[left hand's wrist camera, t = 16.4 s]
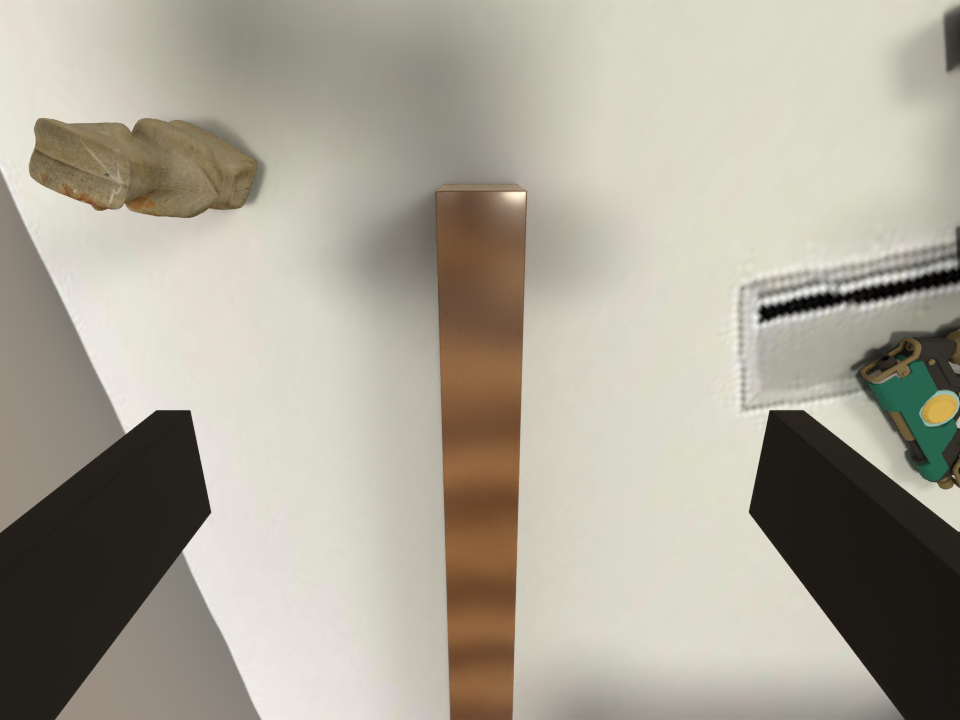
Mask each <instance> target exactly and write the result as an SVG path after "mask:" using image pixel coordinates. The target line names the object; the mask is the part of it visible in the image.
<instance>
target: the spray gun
mask: <svg viewBox="0 0 960 720" xmlns="http://www.w3.org/2000/svg"><path fill="white" fill-rule="evenodd" d="M907 342H910V343H911V344H908V345H907V350H908V352H909V354H907V355H897V356H896V357H895V358H894V355H896V354H898V353H900V352H901V351H903V350H904V348H905V346H906V343H907ZM948 360H949V361H950V362H951V363H954V364H958V365H960V329H958V330H957V331H953V332H951V333H950V334H949V335H948V336H947V337H946V338H914V337H913V338H904V339H902V340H901V342H900V345H899V347H898V348H896V349H894V350H893V351H891V352H889V353H888V354H886V355H883V356H881V357H880V358H879V359H877V360H876V361H874V362H872V363H870V364H869V365H867V366H865V367H864V368H863V369H861V374H862V376H863V378H865V379H866V380H867V383H868V385H869V387H870V389H871V390H872V392H873V394H874V395H875V397H876V399H877V401H878V402H879V404H880V406H881V407H882V409H884V410H886V411H888V412H889V413H890V415H891V417H892V419H893V420H894V422H895V424H896V425H897V427H898V429H899V431H900V432H901V434H902V436H903V437H904V439H905V440H907V441H909V442H910V444H911V446H912V448H913V449H914V451H915V454H914V455H913V457H911V458H912V461H913V463H914V464H915V466H916V468H917V470H918V471H919V473H920V475H921V476H922V477H923V478H924V479H926V480H928V481H930V482H937V483H938V485H939V487H940V488H942V489H950V488H952V487H953V485H954V484H955V485H956V486H958V487H959V488H960V428H957V426H956V424H955V421H956V420H957V419H958V418H959V417H960V374H956V373H954V371H953V369H952V368H951V366H950V364H949V362H948ZM877 365H878V366H879V368H880V369H878V370H876V371H875V372H873V373H871V374H870V375H869V376H868V375H867V374H866V372H868V371H869V370H871V369H872V368H874V367H876V366H877ZM952 475H954V476H955V478H956V479H955V478H953V477H952ZM953 483H954V484H953Z"/></svg>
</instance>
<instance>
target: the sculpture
mask: <svg viewBox="0 0 960 720" xmlns="http://www.w3.org/2000/svg"><path fill="white" fill-rule="evenodd" d="M34 132H35V137H36V144H35V148H34V151H33V153H32V156H31V159H30V163H29V172H30V175H31V177H32V178H33V179H34V180H35V181H37V182H38V183H40V184H41V185H43V186H45V187H47V188H49V189H51V190H54V191H56V192H58V193H60V194H63V195H66V196H68V197H71V198H73V199H76V200H78V201H81V202H84V203H87V204H91V206H92V207H93V208H94V209H95V210H97V211H103V210H106V209H119V208H121V207H122V206H123V205H124V203H125V204H126V206H127V208H128V209H129V210H131V211H133V212H138V213H142V214H148V215H153V216H168V217H181V218H190V217H194V216H197V215H199V214H201V213H203V212H204V211H206V210H207V209H208V208H211V209H221V210H227V209H237V208H241V207H242V206H243V205H244V203H245V201H246V199H247V197H248V194H249V191H250V187H251V184H252V180H253V176H254V175H255V172H256V167H257V161H256V160H254V159H253V158H251V157H249V156H247V155H244V154H242V153H241V152H239V151H238V150H236V149H235V148H233V147H232V146H231V145H229V144H228V143H226V142H225V141H223V140H221V139H219V138H218V137H216V136H214V135H212V134H210V133H208V132H206V131H204V130H202V129H200V128H198V127H195V126H193V125H191V124H188V123H186V122H184V121H181V120H174V121H171V122H169V123H168V122H165V121H161V120H157V119H151V118H144V119H140V120H139V121H138V122H137V123H136V124H135V126H134V128H133V130H132V132H130V130H129V129H128V128H127V127H126V126H125V125H124V124H121V123H74V124H67V123H64V122H61V121H57V120H54V119H47V118H39V119H38V120H37V121H36V124H35V127H34Z"/></svg>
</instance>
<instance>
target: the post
mask: <svg viewBox="0 0 960 720" xmlns="http://www.w3.org/2000/svg"><path fill="white" fill-rule="evenodd" d="M435 196H436V231H437V266H438V301H439V337H440V372H441V407H442V442H443V477H444V513H445V548H446V583H447V618H448V654H449V689H450V720H512V714H513V678H514V642H515V605H516V569H517V533H518V496H519V460H520V424H521V387H522V351H523V315H524V279H525V242H526V206H527V191H526V190H524V189H523V188H522V187H520V186H519V185H518V184H445V185H443V186H442V187H440V188H439V189H438V190H437V191H436V192H435Z"/></svg>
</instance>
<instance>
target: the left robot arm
mask: <svg viewBox="0 0 960 720" xmlns="http://www.w3.org/2000/svg"><path fill="white" fill-rule="evenodd" d="M210 513H211V509H210V504H209V499H208V494H207V489H206V484H205V479H204V475H203V470H202V465H201V460H200V455H199V450H198V445H197V440H196V436H195V431H194V426H193V421H192V416H191V411H190V410H156V411H155V412H154V413H152V414H151V415H150V416H149V417H147V418H146V419H145V420H144V421H142V422H141V423H140V424H138V425H137V426H136V427H135V428H133V429H132V430H131V431H130V432H128V433H127V434H126V435H124V436H123V437H122V438H121V439H119V440H118V441H117V442H116V443H114V444H113V445H112V446H110V447H109V448H108V449H107V450H105V451H104V452H103V453H101V454H100V455H99V456H98V457H96V458H95V459H94V460H93V461H91V462H90V463H89V464H87V465H86V466H85V467H84V468H82V469H81V470H80V471H79V472H77V473H76V474H75V475H74V476H72V477H71V478H70V479H68V480H67V481H66V482H65V483H63V484H62V485H61V486H60V487H58V488H57V489H56V490H54V491H53V492H52V493H51V494H49V495H48V496H47V497H45V498H44V499H43V500H42V501H40V502H39V503H38V504H37V505H35V506H34V507H33V508H31V509H30V510H29V511H28V512H26V513H25V514H24V515H23V516H21V517H20V518H19V519H17V520H16V521H15V522H14V523H12V524H11V525H10V526H9V527H7V528H6V529H5V530H3V531H2V532H1V533H0V720H55V719H56V717H57V716H58V715H59V714H60V712H61V711H62V710H63V708H64V707H65V706H66V704H67V703H68V702H69V700H70V699H71V698H72V696H73V695H74V694H75V692H76V691H77V690H78V688H79V687H80V686H81V684H82V683H83V682H84V680H85V679H86V678H87V676H88V675H89V674H90V672H91V671H92V670H93V668H94V667H95V666H96V664H97V663H98V662H99V661H100V659H101V658H102V657H103V655H104V654H105V653H106V651H107V650H108V649H109V647H110V646H111V645H112V643H113V642H114V641H115V639H116V638H117V637H118V635H119V634H120V633H121V631H122V630H123V629H124V627H125V626H126V625H127V623H128V622H129V621H130V619H131V618H132V617H133V615H134V614H135V613H136V612H137V610H138V609H139V608H140V606H141V605H142V604H143V602H144V601H145V600H146V598H147V597H148V596H149V594H150V593H151V592H152V590H153V589H154V588H155V586H156V585H157V584H158V582H159V581H160V580H161V578H162V577H163V576H164V574H165V573H166V572H167V570H168V569H169V568H170V566H171V565H172V564H173V562H174V561H175V560H176V558H177V557H178V556H179V554H180V553H181V552H182V551H183V549H184V548H185V547H186V545H187V544H188V543H189V541H190V540H191V539H192V537H193V536H194V535H195V533H196V532H197V531H198V529H199V528H200V527H201V525H202V524H203V523H204V521H205V520H206V519H207V517H208V516H209V515H210ZM749 513H750V515H751V516H752V517H753V519H754V520H755V521H756V523H757V524H758V525H759V527H760V528H761V529H762V531H763V532H764V533H765V535H766V536H767V537H768V539H769V540H770V541H771V543H772V544H773V545H774V547H775V548H776V549H777V551H778V552H779V553H780V555H781V556H782V557H783V559H784V560H785V561H786V562H787V564H788V565H789V566H790V568H791V569H792V570H793V572H794V573H795V574H796V576H797V577H798V578H799V580H800V581H801V582H802V584H803V585H804V586H805V588H806V589H807V590H808V592H809V593H810V594H811V596H812V597H813V598H814V600H815V601H816V602H817V604H818V605H819V606H820V608H821V609H822V610H823V612H824V613H825V614H826V615H827V617H828V618H829V619H830V621H831V622H832V623H833V625H834V626H835V627H836V629H837V630H838V631H839V633H840V634H841V635H842V637H843V638H844V639H845V641H846V642H847V643H848V645H849V646H850V647H851V649H852V650H853V651H854V653H855V654H856V655H857V657H858V658H859V659H860V661H861V662H862V663H863V665H864V666H865V667H866V668H867V670H868V671H869V672H870V674H871V675H872V676H873V678H874V679H875V680H876V682H877V683H878V684H879V686H880V687H881V688H882V690H883V691H884V692H885V694H886V695H887V696H888V698H889V699H890V700H891V702H892V703H893V704H894V706H895V707H896V708H897V710H898V711H899V712H900V714H901V715H902V716H903V718H904V719H905V720H960V532H958V531H957V530H955V529H954V528H953V527H951V526H950V525H949V524H948V523H946V522H945V521H944V520H943V519H941V518H940V517H939V516H937V515H936V514H935V513H934V512H932V511H931V510H930V509H929V508H927V507H926V506H925V505H923V504H922V503H921V502H920V501H918V500H917V499H916V498H915V497H913V496H912V495H911V494H909V493H908V492H907V491H906V490H904V489H903V488H902V487H901V486H899V485H898V484H897V483H895V482H894V481H893V480H892V479H890V478H889V477H888V476H887V475H885V474H884V473H883V472H881V471H880V470H879V469H878V468H876V467H875V466H874V465H873V464H871V463H870V462H869V461H867V460H866V459H865V458H864V457H862V456H861V455H860V454H859V453H857V452H856V451H855V450H853V449H852V448H851V447H850V446H848V445H847V444H846V443H844V442H843V441H842V440H841V439H839V438H838V437H837V436H836V435H834V434H833V433H832V432H830V431H829V430H828V429H827V428H825V427H824V426H823V425H822V424H820V423H819V422H818V421H816V420H815V419H814V418H813V417H811V416H810V415H809V414H808V413H806V412H805V411H804V410H770V411H769V416H768V421H767V426H766V431H765V436H764V440H763V445H762V450H761V455H760V460H759V465H758V470H757V475H756V479H755V484H754V489H753V494H752V499H751V504H750V509H749Z"/></svg>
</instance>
